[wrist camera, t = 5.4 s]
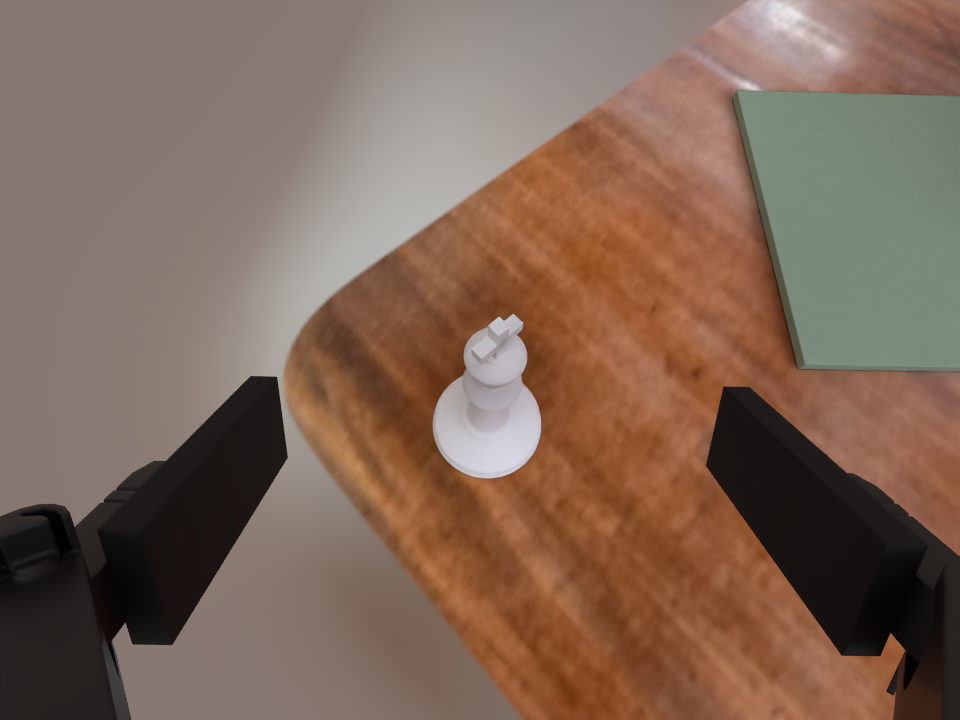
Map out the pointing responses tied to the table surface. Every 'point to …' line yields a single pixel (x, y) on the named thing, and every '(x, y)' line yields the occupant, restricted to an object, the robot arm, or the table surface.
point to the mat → (861, 223)
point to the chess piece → (489, 406)
